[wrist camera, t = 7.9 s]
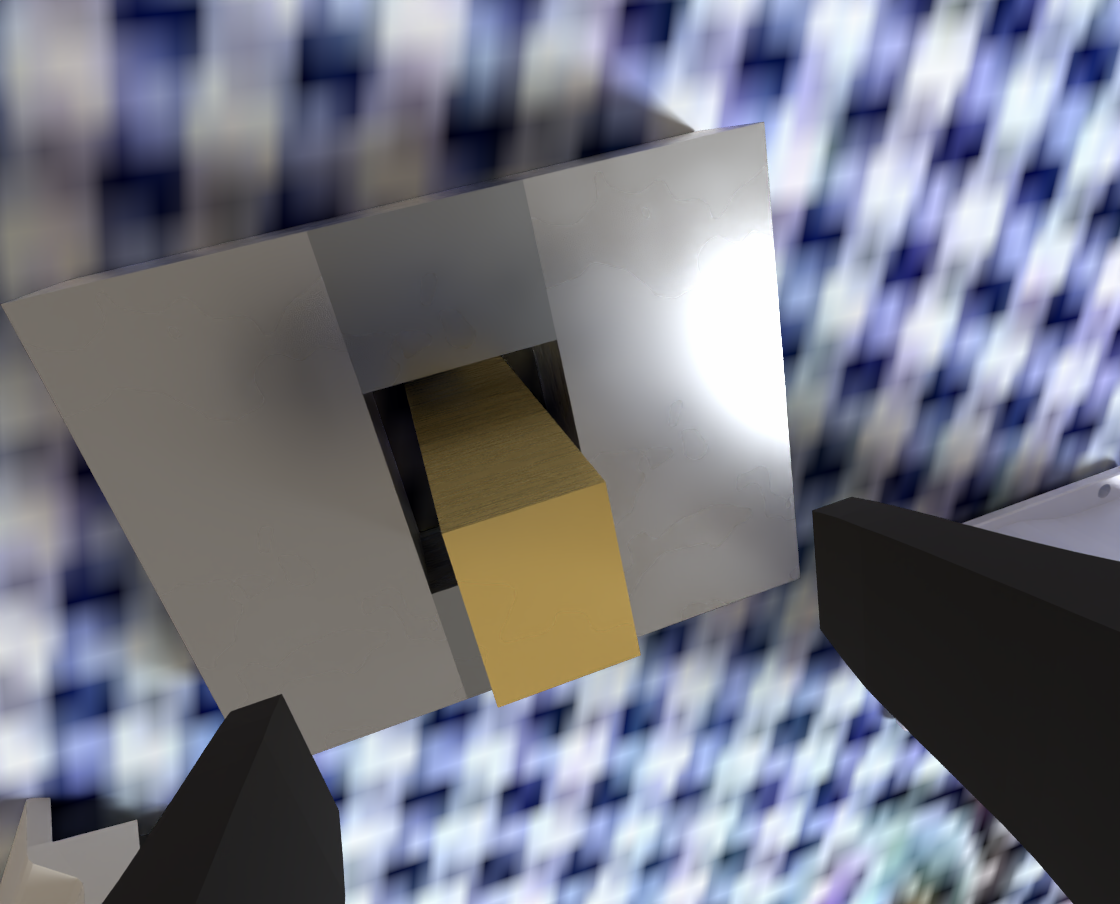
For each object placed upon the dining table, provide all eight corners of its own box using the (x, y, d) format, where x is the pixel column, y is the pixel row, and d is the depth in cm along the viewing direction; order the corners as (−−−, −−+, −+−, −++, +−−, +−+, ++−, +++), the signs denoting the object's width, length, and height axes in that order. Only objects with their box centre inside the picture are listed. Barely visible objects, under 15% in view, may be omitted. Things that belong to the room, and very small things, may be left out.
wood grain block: (499, 354, 17) (605, 481, 10) (528, 469, 18) (640, 655, 11) (403, 381, 17) (441, 533, 10) (439, 497, 18) (498, 707, 11)
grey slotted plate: (696, 131, 17) (764, 121, 14) (742, 526, 21) (800, 578, 18) (67, 280, 14) (0, 304, 12) (269, 689, 19) (255, 775, 16)
